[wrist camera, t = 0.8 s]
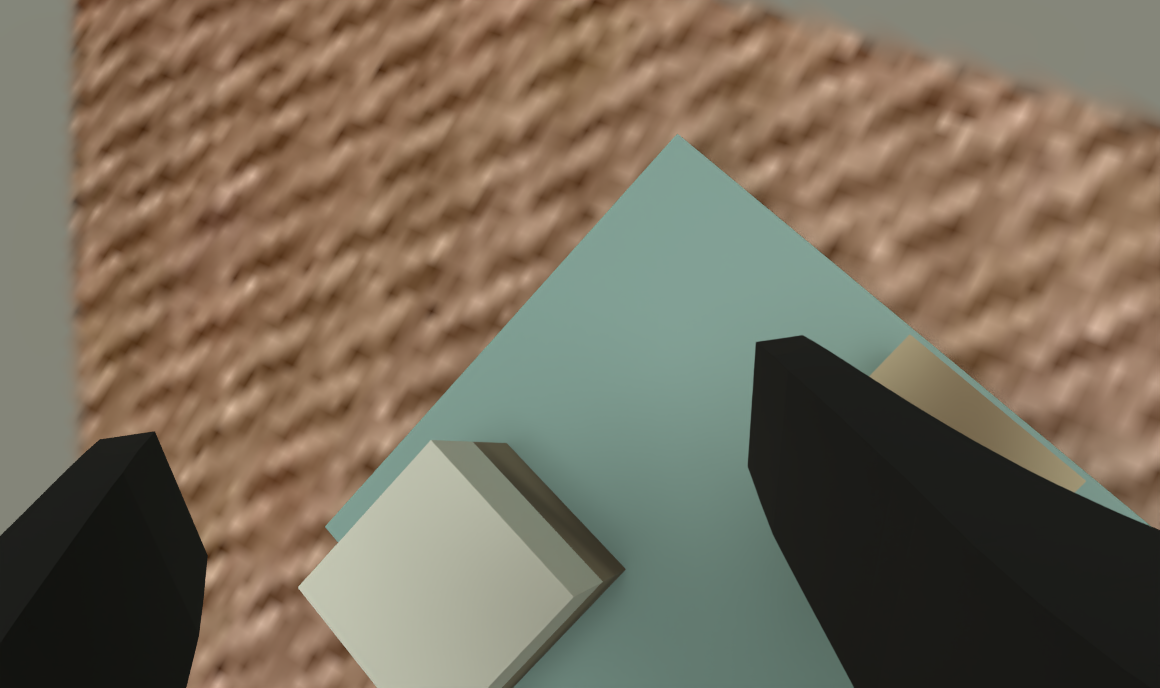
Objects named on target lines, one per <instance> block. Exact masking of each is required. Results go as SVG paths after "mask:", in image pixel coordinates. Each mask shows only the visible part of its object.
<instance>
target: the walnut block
mask: <svg viewBox="0 0 1160 688" xmlns="http://www.w3.org/2000/svg"><path fill="white" fill-rule="evenodd" d="M473 443H474V444H475V445H476V446H477V447H478V448H479V449H480V450H481V451H482V452H483V453H484V454H485V455H486V457H487V458H488V459H489V460H490V461H491V462H492V463H493V464H494V465H495V466H496V467H497V468H498V469H499V471H500V472H501V473H502V474H503V475H504V476H505V477H506V478H507V479H508V480H509V481H510V482H511V483H512V485H513V486H514V487H515V488H516V489H517V490H518V491H519V492H520V493H521V494H522V495H523V496H524V497H525V498H526V500H527V501H528V502H529V503H530V504H531V505H532V506H533V507H534V508H535V509H536V510H537V511H538V512H539V514H540V515H541V516H542V517H543V518H544V519H545V520H546V521H547V522H548V523H549V524H550V525H551V526H552V528H553V529H554V530H555V531H556V532H557V533H558V534H559V535H560V536H561V537H562V538H563V539H564V540H565V541H566V543H567V544H568V545H569V546H570V547H571V548H572V549H573V550H574V551H575V552H576V553H577V554H578V555H579V557H580V558H581V559H582V560H583V561H584V562H585V563H586V564H587V565H588V566H589V567H590V568H591V569H592V570H593V572H594V573H595V574H596V575H597V576H598V577H599V578H600V579H601V580H602V581H603V582H602V583H601V584H600V585H599V586H598V587H597V588H596V589H595V590H594V591H593V592H592V593H591V594H590V596H589V597H588V598H587V599H586V600H585V601H584V602H583V603H582V604H581V605H580V606H579V607H578V608H577V609H576V610H575V611H574V612H573V613H572V614H571V616H570V617H569V618H568V619H567V620H566V621H565V622H564V623H563V624H562V625H561V626H560V627H559V628H558V629H557V630H556V631H555V632H554V633H553V634H552V635H551V637H550V638H549V639H548V640H547V641H546V642H545V643H544V644H543V645H542V646H541V647H540V648H539V649H538V650H537V651H536V652H535V653H534V654H533V655H532V656H531V658H530V659H529V660H528V661H527V662H526V663H525V664H524V665H523V666H522V667H521V668H520V669H519V670H518V671H517V672H516V673H515V674H514V675H513V676H512V678H511V679H510V680H509V681H508V682H507V683H506V684H505V685H504V686H503V687H502V688H513V687H514V686H515V685H516V684H517V683H518V682H519V681H520V680H521V679H522V678H523V677H524V676H525V675H526V674H527V673H528V672H529V670H530V669H531V668H532V667H533V666H534V665H535V664H536V663H537V662H538V661H539V660H540V659H541V658H542V657H543V656H544V655H545V654H546V653H547V652H548V651H549V650H550V648H551V647H552V646H553V645H554V644H555V643H556V642H557V641H558V640H559V639H560V638H561V637H562V636H563V635H564V634H565V633H566V632H567V631H568V630H569V629H570V627H571V626H572V625H573V624H574V623H575V622H576V621H577V620H578V619H579V618H580V617H581V616H582V615H583V614H584V613H585V612H586V611H587V610H588V609H589V608H590V607H591V605H592V604H593V603H594V602H595V601H596V600H597V599H598V598H599V597H600V596H601V595H602V594H603V593H604V592H605V591H606V590H607V589H608V588H609V587H610V586H611V584H612V583H613V582H614V581H615V580H616V579H617V578H618V577H619V576H620V575H621V574H622V573H623V572H624V571H625V570H626V569H625V568H624V567H623V565H622V564H621V563H620V562H619V561H618V560H617V559H616V558H615V557H614V556H613V555H612V554H611V553H610V552H609V551H608V550H607V549H606V547H605V546H604V545H603V544H602V543H601V542H600V541H599V540H598V539H597V538H596V537H595V536H594V535H593V534H592V533H591V532H590V531H589V530H588V528H587V527H586V526H585V525H584V524H583V523H582V522H581V521H580V520H579V519H578V518H577V517H576V516H575V515H574V514H573V513H572V512H571V510H570V509H569V508H568V507H567V506H566V505H565V504H564V503H563V502H562V501H561V500H560V499H559V498H558V497H557V496H556V495H555V494H554V493H553V491H552V490H551V489H550V488H549V487H548V486H547V485H546V484H545V483H544V482H543V481H542V480H541V479H540V478H539V477H538V476H537V475H536V473H535V472H534V471H533V470H532V469H531V468H530V467H529V466H528V465H527V464H526V463H525V462H524V461H523V460H522V459H521V458H520V457H519V456H518V454H517V453H516V452H515V451H514V450H513V449H512V448H511V447H510V446H509V445H508V444H507V443H493V442H473Z"/></svg>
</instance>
